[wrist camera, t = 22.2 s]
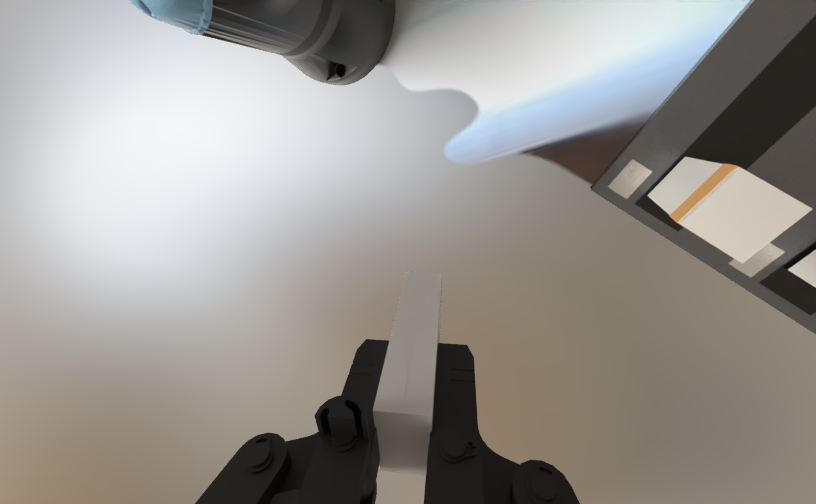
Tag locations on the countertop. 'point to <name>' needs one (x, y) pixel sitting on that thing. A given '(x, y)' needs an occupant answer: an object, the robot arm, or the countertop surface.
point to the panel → (739, 143)
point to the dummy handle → (806, 268)
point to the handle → (726, 206)
